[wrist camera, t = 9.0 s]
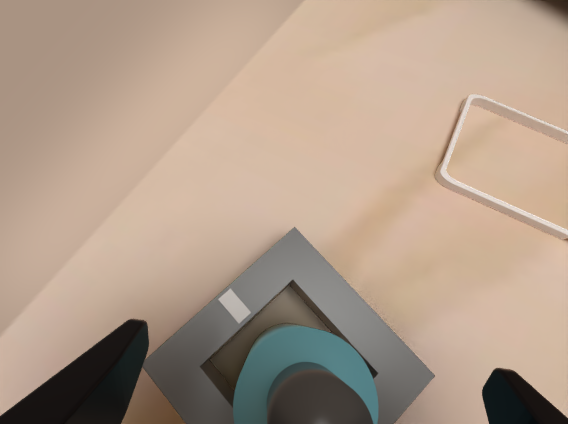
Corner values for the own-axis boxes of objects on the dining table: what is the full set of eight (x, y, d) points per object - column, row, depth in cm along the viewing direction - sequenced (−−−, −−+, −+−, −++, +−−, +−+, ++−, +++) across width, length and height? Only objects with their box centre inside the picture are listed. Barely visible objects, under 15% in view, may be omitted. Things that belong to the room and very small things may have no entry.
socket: (280, 515, 18) (283, 555, 15) (158, 357, 20) (138, 364, 17) (411, 367, 21) (437, 376, 17) (291, 238, 22) (295, 225, 19)
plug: (292, 425, 20) (342, 613, 7) (231, 370, 20) (178, 455, 8) (340, 357, 21) (456, 418, 8) (281, 307, 21) (305, 293, 9)
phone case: (661, 186, 25) (461, 101, 27) (683, 178, 24) (471, 89, 25) (645, 281, 23) (429, 184, 25) (668, 279, 22) (438, 176, 23)
